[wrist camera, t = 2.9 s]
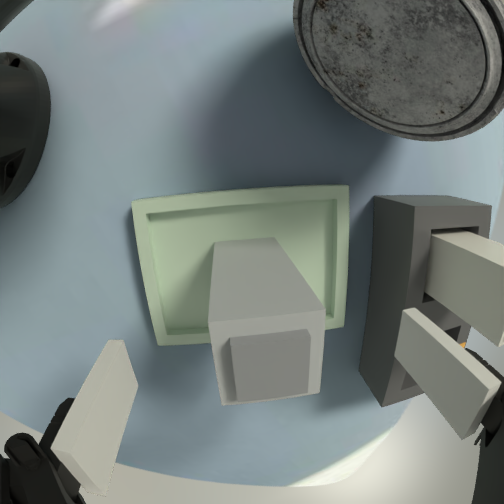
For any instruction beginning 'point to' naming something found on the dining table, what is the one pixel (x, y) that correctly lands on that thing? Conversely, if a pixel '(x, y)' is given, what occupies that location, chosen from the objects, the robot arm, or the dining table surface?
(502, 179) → the dining table surface
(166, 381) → the dining table surface
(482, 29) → the decorative orb
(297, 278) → the plug
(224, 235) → the tray
